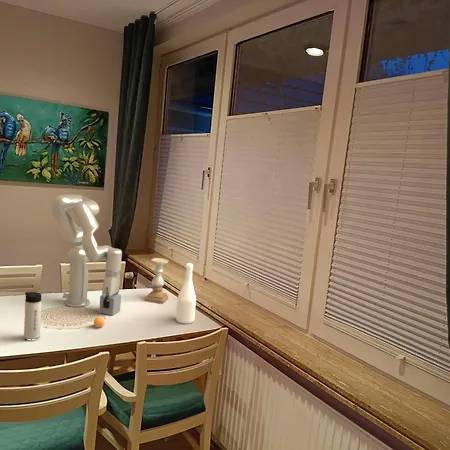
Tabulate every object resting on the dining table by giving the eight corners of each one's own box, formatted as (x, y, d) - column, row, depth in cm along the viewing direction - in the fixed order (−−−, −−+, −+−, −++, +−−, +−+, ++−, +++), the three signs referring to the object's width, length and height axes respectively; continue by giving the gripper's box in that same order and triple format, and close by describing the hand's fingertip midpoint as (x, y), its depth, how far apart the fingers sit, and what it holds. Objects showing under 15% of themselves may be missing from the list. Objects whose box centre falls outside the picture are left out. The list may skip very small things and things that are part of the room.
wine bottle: (186, 316, 230) (191, 261, 226) (197, 322, 223) (203, 265, 219) (171, 319, 223) (176, 262, 219) (183, 325, 217) (188, 267, 213)
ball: (91, 328, 202) (91, 317, 202) (96, 324, 207) (97, 314, 206) (100, 329, 201) (101, 319, 200) (106, 326, 206) (106, 316, 205)
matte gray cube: (99, 312, 222) (100, 296, 221) (106, 308, 229) (108, 292, 228) (112, 315, 220) (114, 298, 219) (119, 310, 227) (121, 294, 226)
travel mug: (26, 334, 188) (27, 290, 185) (41, 335, 188) (43, 291, 186) (20, 340, 182) (22, 294, 179) (36, 341, 182) (38, 295, 180)
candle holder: (150, 296, 259) (153, 256, 255) (168, 298, 257) (171, 259, 254) (144, 301, 248) (147, 260, 245) (163, 303, 246) (166, 263, 243)
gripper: (114, 268, 231) (112, 299, 233) (97, 275, 214) (94, 309, 217) (127, 270, 229) (124, 302, 232) (110, 277, 212) (108, 312, 215)
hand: (110, 305), depth 224 cm, fingers closed on matte gray cube, 7 cm apart
